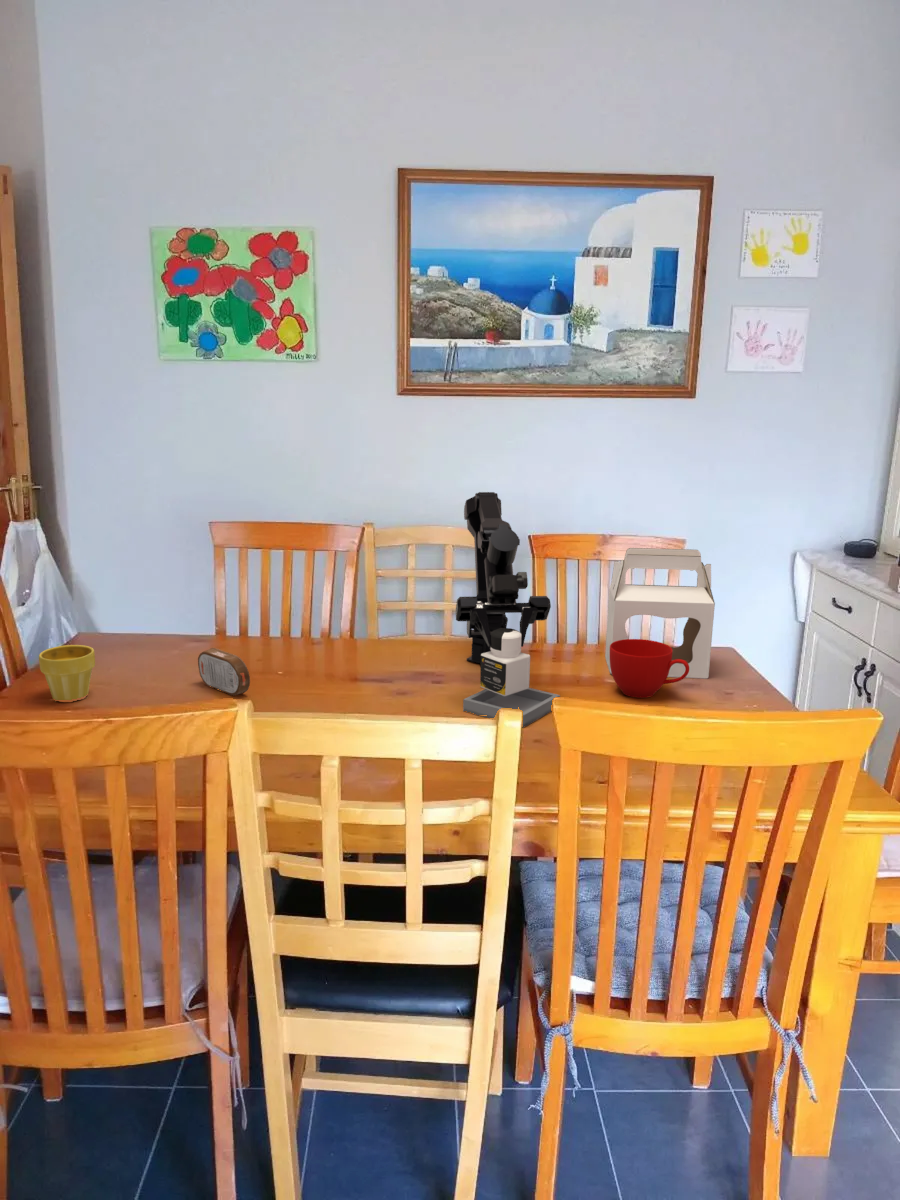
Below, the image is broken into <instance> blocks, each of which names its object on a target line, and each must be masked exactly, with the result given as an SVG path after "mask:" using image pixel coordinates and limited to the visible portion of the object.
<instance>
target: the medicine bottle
mask: <svg viewBox="0 0 900 1200" xmlns="http://www.w3.org/2000/svg"><path fill="white" fill-rule="evenodd" d="M521 636H522V635H521V633H520V630H517V629H514V628H508V627H506V628H500V629H497V630H494V631H493V632H492V633H491V648H490V650H491V651H489V652H486V653H482V654H481V664H480V678H479V679H480V681H479V685H480V688H483V690H484V689H487V690H489V691H492V692H494V693H497V694H500V695H502V696H508V695H511V694H514V693H517V692H520V691H523V690H526V689H528V688H530V671H531V655H530V654H528V653H524V652H522V647H521Z"/></svg>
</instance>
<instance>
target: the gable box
mask: <svg viewBox="0 0 900 1200" xmlns="http://www.w3.org/2000/svg"><path fill="white" fill-rule="evenodd" d="M629 569H631V570H634V569H645V570H646V569H647V570H649V569H651V570H654V569H655V570H678V571H679V570H681V571H682V570H686V571H695V572H696V574H697V576H696V577H697V578H696V585H695V586H688V585H658V584H657V585H655V584H652V585H651V584H626V578H627V572H628V571H629ZM610 581H611V582H610V585H609V587H608V602H607V603H608V605H607V620H606V621H607V622H606V636H605V637H606V638H605V661H606V665H607V669H608V672H609V675H611V676H612V672H611V668H610V645H611V644H612V643H613V642H615V641H619V640H625V639H629V637H628V633H627V631H626V622H627V620H628V619H630V618H631V617H634V616H653V617H656V618H657V617H658V618H663V619H671V620H672V619H681V618H682V619H683V618H686V619H687V620H686V623H685V625H684V627H683V631H682V636H683V637H682V643H681V645H679V646H677V647H675V646H670V647H671V648H672V650H673V652H672V660H675V659H682V660H685V661H686V662H687V663H688V664H689V673H688V675H687V676H686V677H685V678H684V679H703V680H704V679H705V680H706V679H707V680H708V678H709V675H710V663H711V651H712V641H713V631H714V628H713V627H714V617H715V606H716V602H715V599H714V595H713V592H712V589H711V588H712V564H711V563H706V564H704V562H703V561H702V556H701V552H700V551H699V550H698V549H689V548H688V549H687V548H686V549H685V548H681V549H680V548H652V547H651V548H648V547H646V548H645V547H644V548H643V547H628V548H627V549H626V551H625V554H624V559H622V560H621V561H618V560H616V561H613V570H612V575H611V580H610ZM672 660H671V661H672ZM685 670H686V669H685V666H684V665H683V664H682V663H675V664H673V665H672V666H671V668H670V670H669V674H668V677H667V678H679V677H681V676H682V675H683V674H684V673H685Z"/></svg>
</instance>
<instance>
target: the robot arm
mask: <svg viewBox="0 0 900 1200" xmlns="http://www.w3.org/2000/svg"><path fill="white" fill-rule="evenodd" d="M463 508H464V509H463V518H464V521H466V525H467V530H468V532H469V533H470V535H471V536H472V537H473V540H474V543H473V544H474V557H475V558H474V562H475V582H476V583H475V586H476V596H459V597H458V598H457V599H456V606H455V620H456V621H457V622H466V635H467V637H468V639H471V641H472V642H471V655H470V656H469V657H467V658H466V661H467V662H470V661H471V663H475V662H476V663H475V664H479V663H480V664H479V665H481V654H482V653H486V652H489V651H491V650H490V648H491V633H492V632H493V631H494V630H497V629H500V628H508V627H507V625H508V620H509V619H508V617H507V615H506V614H507V613H508V614H511V613H512V614H513V613H514V614H515V613H518V614H519V613H520V615H521V617H520V621H519V632H520V633H521V635H522V636H521V648H522V647H524V643H525V639H526V635H527V631H528V628H529V625H530V624H531V625H532V624H534V623H535V621H546V620H547V619H548V617H549V613H550V611H551V608H552V605H551V600H550V598H549V597H548V595H529V598H528V602H517V600H518V599H519V590H526V589H527V588H528V581H529V579H528V573H527V571H518V572H517V573H516V574H514V569H513V563H514V562H515V559H516V555H517V551H518V547H519V546H521V545H520V541H521V539H520V538H519V536H518V534H517V533H516V532H515V531H514V530H513V529H512V527H511V525H510V523H509V522H507V521H506V520H503V519H502V514H503V513H502V500H501V499H500V498H499V495H498V493H495V492H494V491H487V492H486V491H479V492H476V493H475V495H474V496H472V497H470V498H468V499H466V501H465V503H464V507H463Z"/></svg>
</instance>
